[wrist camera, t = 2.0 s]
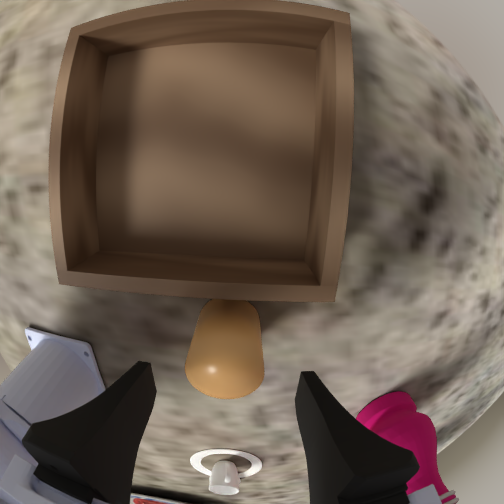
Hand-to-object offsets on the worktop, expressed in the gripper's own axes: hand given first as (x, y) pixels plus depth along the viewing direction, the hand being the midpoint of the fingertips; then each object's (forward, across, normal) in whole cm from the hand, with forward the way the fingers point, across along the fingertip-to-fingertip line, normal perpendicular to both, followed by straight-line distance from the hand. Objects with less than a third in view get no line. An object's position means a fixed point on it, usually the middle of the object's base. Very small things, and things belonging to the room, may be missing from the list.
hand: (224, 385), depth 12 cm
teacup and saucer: (+6, +3, +21) cm, 22 cm away
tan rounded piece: (+6, 0, 0) cm, 6 cm away
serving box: (+6, +2, -11) cm, 13 cm away
